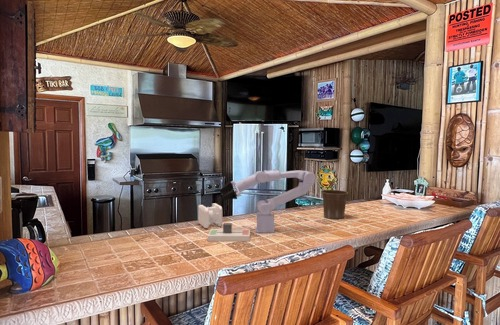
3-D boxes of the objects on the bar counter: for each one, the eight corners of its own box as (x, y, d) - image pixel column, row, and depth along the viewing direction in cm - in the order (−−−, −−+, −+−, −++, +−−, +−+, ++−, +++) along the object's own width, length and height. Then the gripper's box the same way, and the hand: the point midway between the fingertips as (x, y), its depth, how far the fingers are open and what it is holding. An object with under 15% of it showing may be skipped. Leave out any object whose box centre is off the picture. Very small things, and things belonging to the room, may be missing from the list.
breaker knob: (231, 230, 157) (231, 223, 157) (231, 232, 154) (231, 224, 154) (223, 230, 157) (223, 223, 157) (223, 232, 154) (223, 224, 154)
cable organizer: (223, 228, 174) (223, 207, 173) (204, 230, 169) (204, 208, 168) (214, 221, 187) (214, 202, 186) (197, 223, 183) (197, 204, 182)
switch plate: (250, 233, 162) (250, 229, 162) (249, 241, 150) (249, 236, 150) (211, 233, 162) (211, 229, 162) (207, 241, 150) (207, 235, 150)
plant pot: (350, 216, 200) (351, 191, 199) (343, 221, 186) (344, 194, 185) (325, 213, 209) (326, 189, 208) (317, 218, 195) (317, 192, 194)
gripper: (239, 172, 170) (216, 183, 168) (245, 183, 157) (220, 195, 155) (243, 182, 173) (221, 193, 172) (250, 195, 160) (226, 206, 159)
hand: (221, 195), depth 164 cm, fingers open, 7 cm apart
